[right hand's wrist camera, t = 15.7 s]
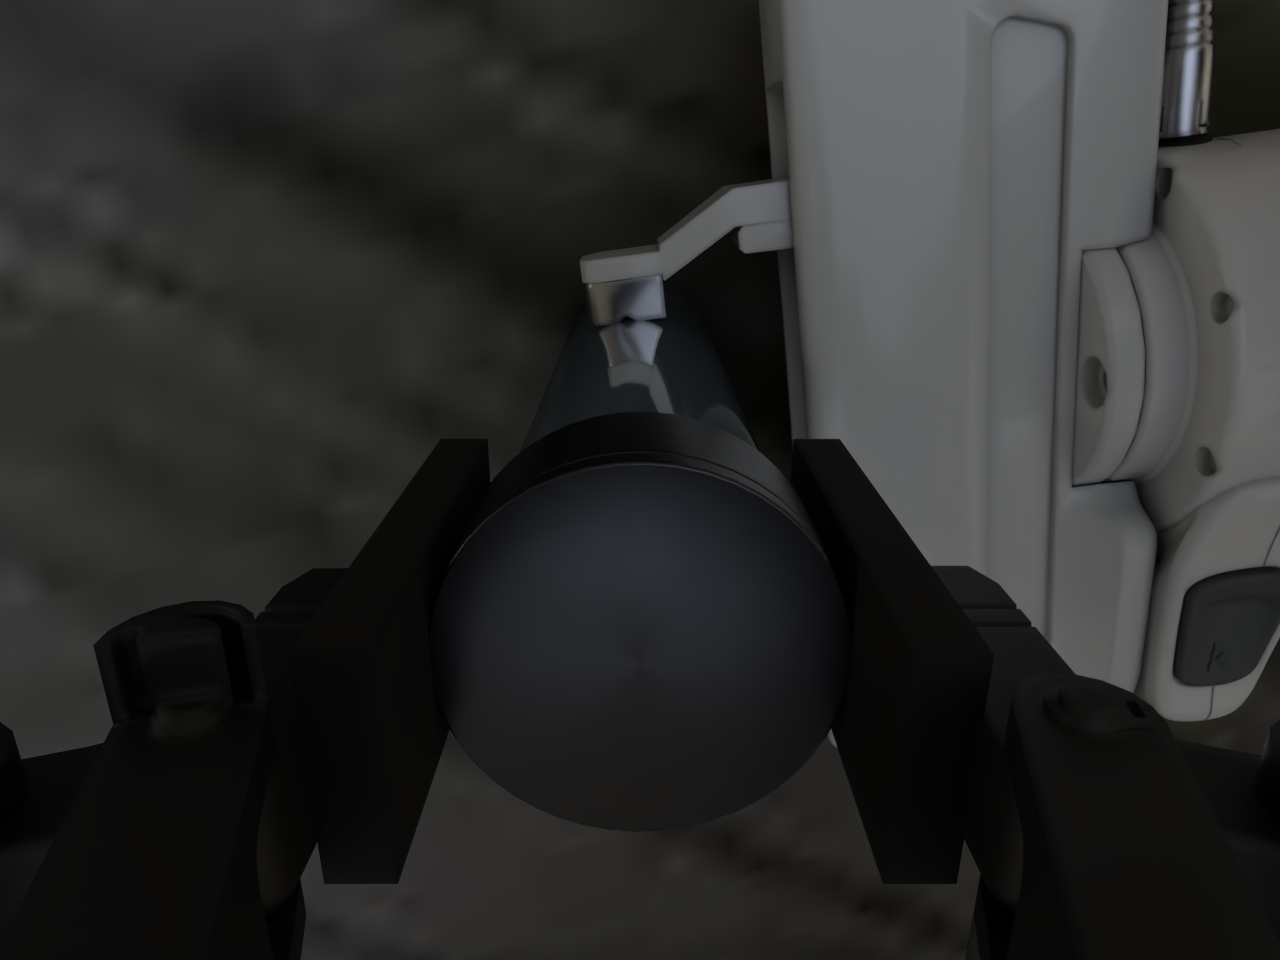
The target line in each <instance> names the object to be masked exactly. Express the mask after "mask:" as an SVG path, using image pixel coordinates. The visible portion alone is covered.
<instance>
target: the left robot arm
mask: <svg viewBox="0 0 1280 960" xmlns="http://www.w3.org/2000/svg"><path fill="white" fill-rule="evenodd" d="M1213 11H1214V0H759V12H760V26H761V39H762V52H763V66H764V79H765V92H766V106H767V119H768V133H769V146H770V159H771V173H772V179H768V180H761V181H754V182H747V183H741V184H734V185H727V186H723V187H722V188H720V189H719V190H718V191H717V192H715V193H714V194H713V195H712V196H710V197H709V198H708V199H707V200H705V201H704V202H703V203H701V204H700V205H699V206H698V207H696V208H695V209H694V210H693V211H691V212H690V213H689V214H688V215H686V216H685V217H684V218H683V219H681V220H680V221H679V222H678V223H676V224H675V225H674V226H673V227H671V228H670V229H669V230H668V231H666V232H665V233H664V234H663V235H661V236H660V237H659V238H657V239H658V244H654V245H647V246H639V247H632V248H625V249H618V250H610V251H603V252H598V253H593V254H589V255H585V256H582V258H581V259H580V268H581V275H582V282H583V288H584V294H585V299H586V305H587V311H588V317H589V323H590V325H593V326H605V325H612V324H615V323H619V322H620V321H621V320H622V319H623V318H624V317H625V316H628V317H630V318H632V319H634V320H636V321H638V320H650V319H657V318H665V317H666V310H665V301H664V291H663V281H662V276H663V280H664V281H665V280H667V279H668V278H669V277H670V276H672V275H673V274H674V273H676V272H677V271H678V270H680V269H681V268H682V267H684V266H685V265H686V264H688V263H689V262H690V261H691V260H693V259H694V258H695V257H697V256H698V255H699V254H701V253H702V252H703V251H705V250H706V249H707V248H709V247H710V246H711V245H713V244H714V243H715V242H716V241H718V240H719V239H720V238H722V237H723V236H724V235H726V234H727V233H728V232H729V234H730V241H731V242H732V243H733V244H734V245H735V246H736V247H738V248H739V249H740V250H741V251H742V252H744V253H745V254H747V253H755V252H763V251H772V250H777V253H778V266H779V279H780V293H781V306H782V319H783V333H784V346H785V359H786V373H787V386H788V399H789V413H790V426H791V440H792V453H793V439H840V440H841V441H842V443H843V444H844V445H845V447H846V448H847V450H848V451H849V452H850V454H851V455H852V457H853V458H854V459H855V461H856V462H857V464H858V465H859V466H860V468H861V469H862V471H863V472H864V473H865V475H866V476H867V478H868V479H869V480H870V482H871V483H872V484H873V486H874V487H875V489H876V490H877V491H878V493H879V494H880V496H881V497H882V498H883V500H884V501H885V503H886V504H887V505H888V507H889V508H890V510H891V511H892V512H893V514H894V515H895V517H896V518H897V519H898V521H899V522H900V523H901V525H902V526H903V528H904V529H905V530H906V532H907V533H908V535H909V536H910V537H911V539H912V540H913V542H914V543H915V544H916V546H917V547H918V549H919V550H920V551H921V553H922V554H923V556H924V557H925V558H926V560H927V561H928V563H929V564H930V565H931V566H969V567H971V568H973V569H974V570H976V571H978V572H980V573H981V574H983V575H985V576H986V577H988V578H990V579H992V580H993V581H995V582H997V583H998V584H999V585H1000V586H1001V587H1002V588H1003V589H1004V590H1005V592H1006V593H1007V594H1008V595H1009V596H1010V597H1011V599H1012V600H1013V601H1014V602H1015V603H1016V605H1017V609H1021V610H1022V612H1023V613H1024V614H1025V615H1026V616H1027V618H1028V619H1029V620H1030V621H1031V625H1032V627H1036V628H1037V629H1038V631H1039V632H1040V633H1041V634H1042V635H1043V636H1044V638H1045V639H1046V640H1047V641H1048V642H1049V643H1050V645H1051V646H1052V647H1053V648H1054V649H1055V651H1056V652H1057V653H1058V654H1059V655H1060V656H1061V658H1062V659H1063V660H1064V661H1065V662H1066V664H1067V665H1068V666H1069V667H1070V668H1071V669H1072V671H1073V672H1074V673H1075V674H1076V675H1081V676H1085V677H1090V678H1094V679H1099V680H1103V681H1105V682H1108V683H1110V684H1113V685H1115V686H1117V687H1120V688H1122V689H1125V690H1127V691H1130V692H1131V693H1133V692H1134V693H1135V694H1136V695H1137V696H1138V697H1139V698H1140V699H1142V700H1144V701H1145V702H1147V703H1148V704H1150V705H1151V706H1153V707H1154V709H1155V710H1156V711H1157V712H1158V713H1159V714H1160V715H1161V716H1162V717H1164V718H1166V719H1169V720H1173V721H1201V720H1209V719H1214V718H1219V717H1222V716H1225V715H1228V714H1230V713H1231V712H1233V711H1235V710H1236V709H1237V708H1238V707H1240V706H1241V705H1242V704H1243V703H1244V701H1245V700H1246V699H1247V698H1248V696H1249V695H1250V693H1251V691H1252V690H1253V688H1254V686H1255V684H1256V682H1257V681H1258V679H1259V677H1260V675H1261V673H1262V671H1263V669H1264V667H1265V665H1266V663H1267V661H1268V659H1269V657H1270V655H1271V653H1272V651H1273V649H1274V647H1275V645H1276V643H1277V641H1278V640H1279V638H1280V129H1274V130H1267V131H1260V132H1252V133H1245V134H1238V135H1231V136H1221V137H1214V138H1213V136H1208V131H1209V119H1210V109H1211V97H1212V86H1213V75H1214V58H1215V44H1213V43H1212V42H1213V40H1214V30H1213V29H1212V27H1213V26H1214V15H1211V14H1212V12H1213ZM827 736H828V738H829V740H830V742H831V743H832V744H833V745H834V746H835V747H836V748H837V745H836V742H835V739H834V736H833V733H832V730H831V729H830V731H829V733H828V735H827Z"/></svg>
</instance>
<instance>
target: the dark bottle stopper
mask: <svg viewBox="0 0 1280 960" xmlns="http://www.w3.org/2000/svg"><path fill="white" fill-rule="evenodd" d="M428 635H429V647H430V658H431V668H432V678H433V687H434V693H435V696H436V700H437V703H438V705H439V708H440V710H441V712H442V714H443V716H444V719H445V721H446V723H447V725H448V727H449V728H450V730H451V732H452V733H453V735H454V736H455V738H456V739H457V741H458V743H459V744H460V746H461V747H462V748H463V749H464V750H465V752H466V753H467V754H468V755H469V756H470V758H471V759H472V760H473V761H474V762H475V764H476V765H477V766H478V767H479V768H481V769H482V770H483V771H484V772H485V773H486V774H487V775H488V776H489V777H490V778H491V779H492V780H494V781H495V782H496V783H497V784H499V785H500V786H502V787H503V788H504V789H506V790H507V791H509V792H510V793H511V794H513V795H514V796H516V797H518V798H519V799H521V800H523V801H525V802H527V803H528V804H530V805H532V806H534V807H535V808H538V809H540V810H542V811H545V812H547V813H550V814H552V815H554V816H557V817H559V818H562V819H566V820H569V821H572V822H576V823H579V824H582V825H587V826H593V827H598V828H604V829H609V830H622V831H662V830H669V829H677V828H684V827H689V826H693V825H697V824H701V823H705V822H710V821H712V820H715V819H718V818H721V817H724V816H726V815H729V814H732V813H734V812H736V811H738V810H740V809H743V808H745V807H747V806H749V805H751V804H753V803H755V802H757V801H758V800H760V799H761V798H763V797H764V796H766V795H768V794H769V793H771V792H772V791H774V790H775V789H777V788H778V787H779V786H781V785H782V784H783V783H784V782H786V781H787V780H788V779H789V778H790V777H792V776H793V775H794V774H795V773H796V772H797V771H798V770H799V769H800V768H801V767H802V766H803V765H804V764H805V763H806V762H807V761H808V760H809V759H810V758H811V757H812V756H813V754H814V753H815V751H816V750H817V749H818V747H819V746H820V745H821V743H822V742H823V741H824V739H825V738H826V736H827V735H828V733H829V731H830V729H831V727H832V726H833V724H834V722H835V720H836V718H837V716H838V714H839V712H840V709H841V706H842V704H843V701H844V698H845V695H846V693H847V686H848V678H849V669H850V658H851V647H852V619H851V615H850V611H849V607H848V603H847V599H846V595H845V592H844V590H843V587H842V585H841V583H840V580H839V578H838V575H837V573H836V571H835V569H834V566H833V564H832V562H831V560H830V558H829V556H828V554H827V552H826V550H825V548H824V545H823V543H822V541H821V539H820V537H819V535H818V533H817V531H816V529H815V527H814V524H813V522H812V520H811V518H810V516H809V514H808V512H807V510H806V508H805V506H804V504H803V502H802V501H801V499H800V497H799V496H798V494H797V492H796V491H795V489H794V487H793V486H792V485H791V484H790V482H789V481H788V480H787V479H786V478H785V476H784V475H783V474H782V473H781V471H780V470H779V469H778V468H777V467H776V466H775V465H774V464H773V463H771V462H770V461H769V460H768V459H767V458H766V457H765V456H764V455H763V454H762V453H760V452H759V451H758V450H756V449H755V448H753V447H752V446H751V445H749V444H748V443H746V442H745V441H743V440H742V439H740V438H738V437H736V436H734V435H732V434H731V433H729V432H727V431H725V430H723V429H721V428H719V427H716V426H713V425H710V424H708V423H705V422H702V421H699V420H697V419H692V418H688V417H683V416H679V415H675V414H668V413H657V412H647V411H646V412H620V413H614V414H607V415H601V416H596V417H592V418H589V419H585V420H582V421H579V422H575V423H572V424H570V425H567V426H565V427H563V428H561V429H558V430H556V431H554V432H551V433H549V434H548V435H546V436H544V437H543V438H541V439H539V440H538V441H536V442H534V443H533V444H531V445H530V446H528V447H527V448H526V449H524V450H523V451H522V452H521V453H519V454H518V455H517V456H516V457H515V458H513V459H512V460H511V461H510V462H509V463H508V464H507V465H506V466H505V467H504V468H503V469H502V470H501V471H500V472H499V474H498V475H497V476H496V477H495V478H494V479H493V481H492V482H491V483H490V485H489V486H488V488H487V489H486V491H485V492H484V493H483V495H482V496H481V498H480V500H479V502H478V504H477V506H476V508H475V510H474V512H473V514H472V516H471V518H470V520H469V522H468V524H467V526H466V528H465V530H464V533H463V535H462V537H461V539H460V541H459V543H458V545H457V547H456V549H455V551H454V553H453V555H452V558H451V560H450V562H449V564H448V566H447V568H446V570H445V572H444V574H443V576H442V578H441V581H440V583H439V586H438V589H437V592H436V595H435V598H434V601H433V604H432V607H431V613H430V619H429V625H428Z"/></svg>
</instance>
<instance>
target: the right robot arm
mask: <svg viewBox="0 0 1280 960" xmlns="http://www.w3.org/2000/svg"><path fill="white" fill-rule="evenodd" d="M489 485H490V471H489V456H488V440H487V439H441V440H440V441H439V443H438V444H437V445H436V447H435V448H434V450H433V451H432V452H431V454H430V455H429V457H428V458H427V459H426V461H425V462H424V463H423V465H422V466H421V468H420V469H419V470H418V472H417V473H416V475H415V476H414V477H413V479H412V480H411V482H410V483H409V484H408V486H407V487H406V489H405V490H404V491H403V493H402V494H401V496H400V497H399V498H398V500H397V501H396V503H395V504H394V505H393V507H392V508H391V510H390V511H389V512H388V514H387V515H386V516H385V518H384V519H383V521H382V522H381V523H380V525H379V526H378V528H377V529H376V530H375V532H374V533H373V535H372V536H371V537H370V539H369V540H368V542H367V543H366V544H365V546H364V547H363V549H362V550H361V551H360V553H359V554H358V556H357V557H356V558H355V560H354V561H353V562H352V564H351V565H350V567H349V568H313V569H312V570H310V571H308V572H307V573H305V574H303V575H302V576H300V577H298V578H296V579H295V580H293V581H291V582H290V583H288V584H286V585H285V586H283V587H282V588H281V589H280V590H279V592H278V593H277V594H276V595H275V596H274V597H273V599H272V600H271V601H270V602H269V603H268V605H267V606H266V607H265V612H261V613H260V614H259V615H258V616H257V618H256V619H255V620H254V615H253V613H252V612H250V611H249V610H247V609H246V608H245V607H243V606H242V605H239V604H234V603H229V602H224V601H192V602H186V603H181V604H176V605H170V606H165V607H161V608H158V609H155V610H152V611H149V612H146V613H143V614H140V615H137V616H135V617H132V618H130V619H128V620H127V621H125V622H123V623H121V624H119V625H118V626H116V627H114V628H112V629H110V630H109V631H108V632H107V633H106V634H105V635H103V636H102V637H101V638H100V639H99V640H98V641H97V642H96V643H95V644H94V645H93V646H94V650H95V654H96V658H97V662H98V666H99V670H100V673H101V677H102V681H103V685H104V689H105V693H106V697H107V701H108V705H109V709H110V713H111V717H112V721H113V726H112V728H111V730H110V732H109V734H108V736H107V738H106V740H105V742H104V743H101V744H97V745H93V746H89V747H84V748H79V749H74V750H69V751H63V752H58V753H53V754H48V755H42V756H37V757H32V758H27V759H21V758H20V754H19V751H18V748H17V744H16V741H15V738H14V734H13V731H12V730H10V729H9V728H8V727H6V726H5V725H3V724H2V723H1V722H0V960H300V959H301V951H302V943H303V936H304V928H305V920H306V911H305V904H304V897H303V891H302V886H301V880H300V877H301V875H302V873H303V871H304V869H305V867H306V865H307V862H308V860H309V858H310V856H311V854H312V852H313V850H314V848H315V846H316V843H317V842H318V848H319V854H320V860H321V866H322V872H323V878H324V884H398V882H399V879H400V876H401V873H402V870H403V867H404V864H405V861H406V858H407V855H408V852H409V849H410V846H411V843H412V840H413V837H414V834H415V831H416V828H417V825H418V822H419V819H420V816H421V813H422V810H423V807H424V804H425V801H426V798H427V795H428V792H429V789H430V786H431V783H432V780H433V777H434V774H435V771H436V768H437V765H438V762H439V759H440V756H441V753H442V750H443V747H444V744H445V741H446V739H447V736H448V733H449V730H450V728H449V727H448V725H447V723H446V721H445V719H444V716H443V714H442V712H441V710H440V708H439V705H438V703H437V700H436V696H435V693H434V687H433V678H432V668H431V658H430V647H429V635H428V625H429V619H430V613H431V607H432V604H433V601H434V598H435V595H436V592H437V589H438V586H439V583H440V581H441V578H442V576H443V574H444V572H445V570H446V568H447V566H448V564H449V562H450V560H451V558H452V555H453V553H454V551H455V549H456V547H457V545H458V543H459V541H460V539H461V537H462V535H463V533H464V530H465V528H466V526H467V524H468V522H469V520H470V518H471V516H472V514H473V512H474V510H475V508H476V506H477V504H478V502H479V500H480V498H481V496H482V495H483V493H484V492H485V491H486V489H487V488H488V486H489ZM791 485H792V486H793V487H794V489H795V491H796V492H797V494H798V496H799V497H800V499H801V501H802V502H803V504H804V506H805V508H806V510H807V512H808V514H809V516H810V518H811V520H812V522H813V524H814V527H815V529H816V531H817V533H818V535H819V537H820V539H821V541H822V543H823V545H824V548H825V550H826V552H827V554H828V556H829V558H830V560H831V562H832V564H833V566H834V569H835V571H836V573H837V575H838V578H839V580H840V583H841V585H842V587H843V590H844V592H845V595H846V599H847V603H848V607H849V611H850V615H851V619H852V647H851V658H850V669H849V678H848V686H847V693H846V695H845V698H844V701H843V704H842V706H841V709H840V712H839V714H838V716H837V718H836V720H835V722H834V724H833V726H832V727H831V730H832V733H833V736H834V739H835V742H836V745H837V748H838V751H839V754H840V757H841V760H842V763H843V766H844V769H845V772H846V775H847V778H848V781H849V784H850V787H851V790H852V793H853V796H854V798H855V801H856V804H857V807H858V810H859V813H860V816H861V819H862V822H863V825H864V828H865V831H866V834H867V837H868V840H869V843H870V846H871V849H872V852H873V855H874V858H875V861H876V864H877V867H878V870H879V873H880V876H881V879H882V882H883V884H957V878H958V872H959V866H960V860H961V853H962V847H963V841H964V839H965V841H966V843H967V846H968V848H969V850H970V852H971V854H972V856H973V858H974V860H975V862H976V864H977V866H978V869H979V871H980V873H981V874H980V880H979V886H978V891H977V897H976V903H975V908H974V914H973V919H972V925H971V931H970V936H969V942H968V948H967V953H966V960H978V959H979V957H980V960H1280V720H1279V721H1278V722H1276V723H1275V724H1274V725H1272V726H1271V727H1270V729H1269V732H1268V735H1267V738H1266V742H1265V745H1264V748H1263V752H1262V755H1261V756H1259V755H1254V754H1248V753H1243V752H1238V751H1233V750H1227V749H1222V748H1217V747H1212V746H1206V745H1201V744H1196V743H1191V742H1187V741H1183V740H1179V739H1175V738H1174V736H1173V734H1172V732H1171V730H1170V728H1169V726H1168V725H1167V723H1166V722H1165V720H1164V719H1163V718H1162V717H1161V716H1160V715H1159V713H1158V712H1157V711H1156V710H1155V709H1154V707H1153V706H1151V705H1150V704H1148V703H1147V702H1145V701H1144V700H1142V699H1140V698H1139V697H1137V696H1136V695H1134V694H1133V693H1131V692H1130V691H1127V690H1125V689H1122V688H1120V687H1117V686H1115V685H1113V684H1110V683H1108V682H1105V681H1103V680H1099V679H1094V678H1090V677H1085V676H1081V675H1076V674H1075V673H1074V672H1073V671H1072V669H1071V668H1070V667H1069V666H1068V665H1067V664H1066V662H1065V661H1064V660H1063V659H1062V658H1061V656H1060V655H1059V654H1058V653H1057V652H1056V651H1055V649H1054V648H1053V647H1052V646H1051V645H1050V643H1049V642H1048V641H1047V640H1046V639H1045V638H1044V636H1043V635H1042V634H1041V633H1040V632H1039V631H1038V629H1037V628H1036V627H1032V625H1031V621H1030V620H1029V619H1028V618H1027V616H1026V615H1025V614H1024V613H1023V612H1022V610H1021V609H1017V605H1016V603H1015V602H1014V601H1013V600H1012V599H1011V597H1010V596H1009V595H1008V594H1007V593H1006V592H1005V590H1004V589H1003V588H1002V587H1001V586H1000V585H999V584H998V583H997V582H995V581H993V580H992V579H990V578H988V577H986V576H985V575H983V574H981V573H980V572H978V571H976V570H974V569H973V568H971V567H969V566H931V565H930V564H929V563H928V561H927V560H926V558H925V557H924V556H923V554H922V553H921V551H920V550H919V549H918V547H917V546H916V544H915V543H914V542H913V540H912V539H911V537H910V536H909V535H908V533H907V532H906V530H905V529H904V528H903V526H902V525H901V523H900V522H899V521H898V519H897V518H896V517H895V515H894V514H893V512H892V511H891V510H890V508H889V507H888V505H887V504H886V503H885V501H884V500H883V498H882V497H881V496H880V494H879V493H878V491H877V490H876V489H875V487H874V486H873V484H872V483H871V482H870V480H869V479H868V478H867V476H866V475H865V473H864V472H863V471H862V469H861V468H860V466H859V465H858V464H857V462H856V461H855V459H854V458H853V457H852V455H851V454H850V452H849V451H848V450H847V448H846V447H845V445H844V444H843V443H842V441H841V440H840V439H793V454H792V470H791Z"/></svg>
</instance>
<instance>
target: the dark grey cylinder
mask: <svg viewBox="0 0 1280 960" xmlns="http://www.w3.org/2000/svg"><path fill="white" fill-rule="evenodd" d="M663 291H664V301H665V310H666V317H665V318H657V319H650V320H638V321H636V320H634V319H632V318H630V317H628V316H625V317H624V318H623V319H622V320H621V321H620V322H619V323H615V324H612V325H605V326H593V325H590V323H589V317H588V311H587V305H585V306H584V307H583V308H582V310H581V311H580V312H579V314H578V315H577V317H576V319H575V321H574V323H573V326H572V328H571V330H570V333H569V335H568V338H567V340H566V342H565V345H564V347H563V350H562V352H561V354H560V357H559V359H558V362H557V364H556V366H555V369H554V371H553V374H552V376H551V379H550V381H549V383H548V386H547V388H546V391H545V393H544V395H543V398H542V400H541V403H540V405H539V407H538V410H537V412H536V415H535V417H534V420H533V422H532V424H531V427H530V429H529V432H528V434H527V436H526V439H525V441H524V444H523V446H522V448H521V451H520V453H521V452H522V451H523V450H524V449H526V448H527V447H528V446H530V445H531V444H533V443H534V442H536V441H538V440H539V439H541V438H543V437H544V436H546V435H548V434H549V433H551V432H554V431H556V430H558V429H561V428H563V427H565V426H567V425H570V424H572V423H575V422H579V421H582V420H585V419H589V418H592V417H596V416H601V415H607V414H614V413H620V412H646V411H647V412H657V413H668V414H675V415H679V416H683V417H688V418H692V419H697V420H699V421H702V422H705V423H708V424H710V425H713V426H716V427H719V428H721V429H723V430H725V431H727V432H729V433H731V434H732V435H734V436H736V437H738V438H740V439H742V440H743V441H745V442H746V443H748V444H749V445H751V446H752V447H753V448H755V449H756V450H758V451H759V452H760V450H759V448H758V445H757V443H756V440H755V438H754V436H753V433H752V431H751V428H750V426H749V423H748V421H747V419H746V416H745V414H744V411H743V409H742V407H741V404H740V402H739V399H738V397H737V395H736V392H735V390H734V387H733V385H732V382H731V380H730V378H729V375H728V373H727V370H726V368H725V366H724V363H723V361H722V358H721V356H720V353H719V351H718V349H717V346H716V344H715V341H714V339H713V337H712V334H711V332H710V329H709V327H708V325H707V322H706V320H705V318H704V316H703V315H702V313H701V311H700V310H699V309H698V308H697V306H696V305H695V304H694V303H693V302H692V301H691V300H690V299H689V298H688V297H687V296H685V295H684V294H683V293H681V292H680V291H678V290H676V289H674V288H673V287H671V286H668V285H665V284H663ZM760 453H761V452H760Z"/></svg>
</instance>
